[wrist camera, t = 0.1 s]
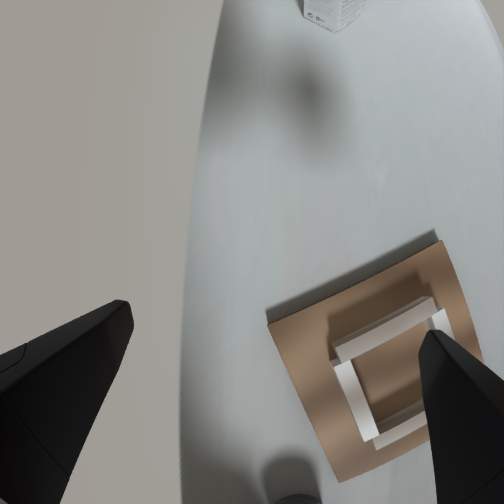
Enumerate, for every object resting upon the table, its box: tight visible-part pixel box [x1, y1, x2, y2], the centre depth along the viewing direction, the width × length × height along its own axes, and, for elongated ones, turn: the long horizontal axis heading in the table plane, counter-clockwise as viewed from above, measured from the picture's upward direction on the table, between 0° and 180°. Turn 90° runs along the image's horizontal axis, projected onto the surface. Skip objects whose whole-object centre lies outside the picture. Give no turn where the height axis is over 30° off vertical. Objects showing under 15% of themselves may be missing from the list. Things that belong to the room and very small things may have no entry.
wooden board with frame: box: [267, 240, 484, 483], centre depth 20 cm, size 15×15×3 cm
